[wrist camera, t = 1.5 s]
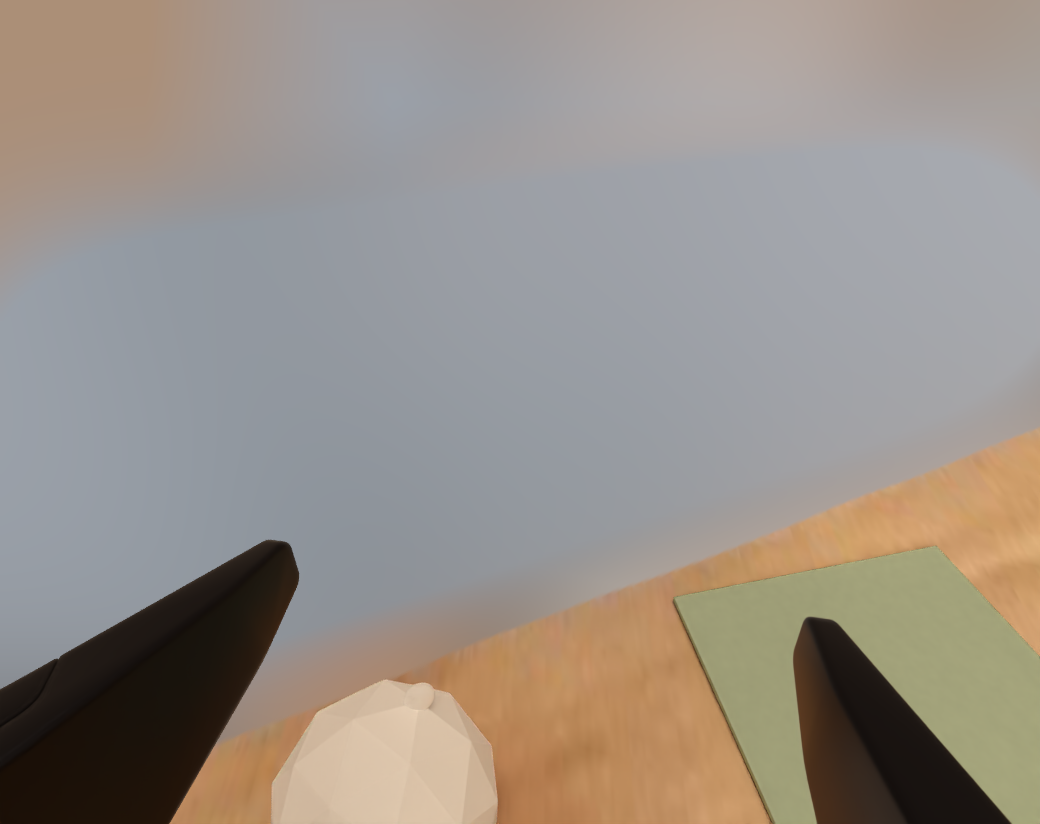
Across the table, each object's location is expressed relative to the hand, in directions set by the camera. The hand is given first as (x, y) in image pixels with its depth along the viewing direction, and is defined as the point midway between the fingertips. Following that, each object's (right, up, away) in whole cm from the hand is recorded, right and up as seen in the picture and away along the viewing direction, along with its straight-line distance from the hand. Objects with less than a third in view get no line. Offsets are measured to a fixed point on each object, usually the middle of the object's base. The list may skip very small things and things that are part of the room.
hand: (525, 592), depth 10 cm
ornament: (-4, -12, +11) cm, 17 cm away
